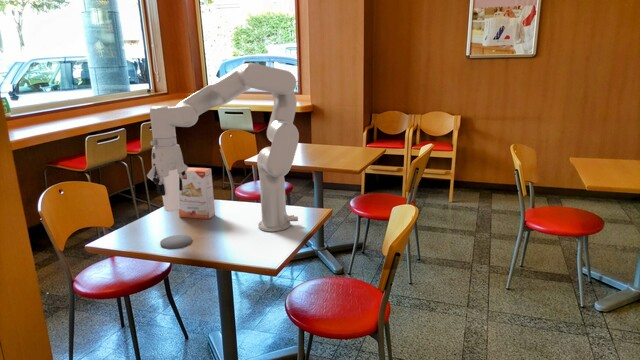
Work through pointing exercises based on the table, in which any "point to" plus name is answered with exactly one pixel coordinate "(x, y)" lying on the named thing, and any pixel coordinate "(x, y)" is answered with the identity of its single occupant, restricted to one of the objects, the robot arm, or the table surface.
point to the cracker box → (197, 194)
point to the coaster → (175, 241)
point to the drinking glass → (171, 191)
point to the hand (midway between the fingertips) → (170, 192)
